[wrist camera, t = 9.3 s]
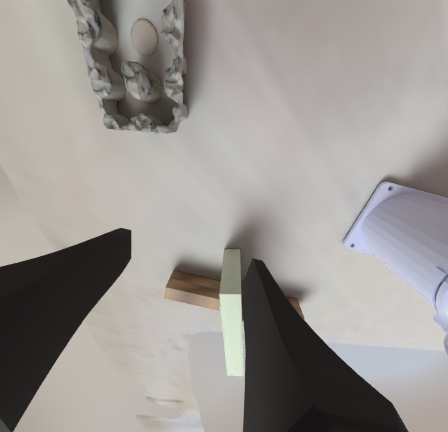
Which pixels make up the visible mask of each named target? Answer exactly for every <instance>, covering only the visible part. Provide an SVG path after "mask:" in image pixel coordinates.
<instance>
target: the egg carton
mask: <svg viewBox="0 0 448 432" xmlns="http://www.w3.org/2000/svg"><path fill="white" fill-rule="evenodd" d="M68 3H69V5H70V6H71V8H72V9H73V11H74V12H75V15H76V19H77V26H78V37H79V41H80V43H81V44H82V46H83V49H84V54H85V59H86V62H87V66H88V77H89V79H90V82H91V84H92V87H93V90H94V92H95V95H96V97H97V99H98V101H99V105H100V108H101V110H102V111H103V113H104V119H103V121H104V125H105V126H106V128H109V129H115V130H131V131H142V132H155V133H173V132H176V131H177V129H178V125H179V122H180V121H181V120H183V119H187V118H188V107H187V106H186V105H184V104H183V94H182V90H183V80H182V76H181V75H184V74H186V73H187V61H186V58H185V57H184V55H183V36H184V20H185V1H184V0H173V1H172V3H171V4H170V5H168V6H167V8H166V9H164V10H163V17H162V28H163V31H162V32H161V33H162V35H163V36H164V37H165V39H166V40H167V41H168V42H169V43H170V45H171V46H172V47H173V49H174V50H175V51H176V52H175V54H176V59H174V60H173V66H172V67H171V68H168V69H167V70H166V71H165V73H166V78H165V81H164V89H165V92H166V94H167V96H168V97H170V98H171V99H173V100H174V101H175V102H176V103H177V105H176V106H174V108H173V109H172V114H173V115H174V117H175V119H174V120H172V121H171V123H170V125H169V126H164V125H163V123H162V122H161V121H160V120H159V119H158V118H157V117H154V116H150V115H145V114H142V113H136V115H135V117H132V118H131V119H130V122H129V121H128V119H127V118H126V117H124V116H122V115H120V114H119V112H118V109H117V101H120V100H121V99H123V97H124V96H125V93H126V89H127V91H128V92H129V93H130V94H131V95H132V96H133V97H134V98H136V99H138V100H141V101H144V102H143V103H146V102H148V103H155V102H157V101H158V100H159V99H160V98H161V96H162V85H161V82H160V80H159V79H158V78H157V77H156V75H155V74H153V73H152V72H151V71H149V70H148V69H147V68H145V67H144V66H142V65H141V64H139V63H137V62H130V61H123V62H122V63H121V72H122V74H123V77H124V81H123V79H122V77H121V76H120V75H119V74H118V73H117V72H115V71H113V70H112V65H111V62H110V59H109V55H111V54H113V53H114V52H115V51H116V49H117V46H118V35H117V32H116V29H115V27H114V26H113V24H112V23H111V22H110V21H109V20H108V19H107V18H106V17H105V16H104V15H102V12H101V7H100V0H68ZM131 39H132V43H133V46H134V47H135V49H136V50H137V51H138V52H139V53H140V54H141V55H144V56H149V55H151V54H153V53H154V52H155V50H156V48H157V45H158V35H157V32H156V29H155V28H154V26H153V25H152V24H151V22H150V21H148V20H146V19H138V21H136V22H135V23H134V24H133V26H132V29H131ZM177 58H178V60H179V63H178V62H177ZM124 82H125V83H124Z"/></svg>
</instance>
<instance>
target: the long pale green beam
mask: <svg viewBox="0 0 448 432" xmlns="http://www.w3.org/2000/svg"><path fill="white" fill-rule="evenodd" d="M219 297H220V307H221V317H222V327H223V336H224V347H225V357H226V367H227V375H231V376H243V340H242V339H243V337H242V301H241V262H240V249H224V257H223V265H222V274H221V283H220V292H219Z"/></svg>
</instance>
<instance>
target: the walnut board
mask: <svg viewBox="0 0 448 432" xmlns="http://www.w3.org/2000/svg"><path fill="white" fill-rule="evenodd" d="M220 283H221V281H217V280H213V279H209V278H204V277H200V276H196V275H191V274H187V273H183V272H179V271H174V270H173V273H172V275H171V277H170V279H169V281H168V283H167V285H166V289H165V296H164V298H166V299H170V300H174V301H179V302H183V303H188V304H192V305H196V306H201V307H205V308H210V309H214V310H219V308H220V297H219V292H220ZM242 295H243V286H241V301H242ZM286 298H287V299H288V300H289V302H290V303H291V304H292V306H293V307H294V308H295V310H296V311H297V312H298V313H299V315H300V316H301V317H302V318H303V319H304V316H303V314H302V311H301V308H300V305H299V302H298V300H297V299H295V298H290V297H286ZM242 306H243V303H242Z"/></svg>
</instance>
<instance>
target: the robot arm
mask: <svg viewBox="0 0 448 432" xmlns="http://www.w3.org/2000/svg"><path fill="white" fill-rule="evenodd" d="M390 186H391V188H390V189H389V190H388V188H389V187H390ZM342 244H343V246H344V247H345V248H349V249H353V250H357V251H361V252H365V253H369V254H373V255H376V256H377V257H378V258H379V259H380V260H381V261H382V262H383V263H384V264H386V265H387V266H388V267H389V268H390V269H391V270H392V271H393V272H395V273H396V274H397V275H398V276H399V277H400V278H401V279H402V280H403V281H405V282H406V283H407V284H408V285H409V286H410V287H411V288H412V289H413V290H415V291H416V292H417V293H418V294H419V295H420V296H421V297H422V298H424V299H425V300H426V301H427V302H428V303H429V304H430V305H431V306H432V307H434V308H435V309H436V310H437V313H436V315H435V316H434V318H433V320H434V321H435V322H436V323H437V324H438V325H439V326H440V327H441V328H442V329H443V330H444V331H445V332H447V333H448V197H444V196H440V195H436V194H433V193H429V192H425V191H421V190H417V189H414V188H410V187H406V186H402V185H398V184H395V183H391V182H387V181H384V182H382V183H380V185H379V186H378V187H377V189H376V191H375V192H374V194H373V195H372V197H371V199H370V200H369V202H368V203H367V205H366V206H365V208H364V210H363V211H362V213H361V214H360V216H359V217H358V219H357V221H356V222H355V224H354V225H353V227H352V228H351V230H350V232H349V233H348V235H347V236H346V238H345V239H344V241H343V243H342ZM351 244H353V245H351ZM350 245H351V246H350ZM130 259H131V230H128V229H123V228H119V229H116V230H113V231H111V232H108V233H105V234H103V235H100V236H98V237H95V238H93V239H90V240H87V241H85V242H82V243H79V244H77V245H74V246H71V247H68V248H65V249H62V250H59V251H56V252H53V253H50V254H47V255H44V256H40V257H37V258H33V259H30V260H26V261H22V262H19V263H14V264H10V265H6V266H2V267H0V432H13V431H14V429H15V427H16V426H17V424H18V422H19V420H20V419H21V417H22V415H23V414H24V412H25V410H26V409H27V407H28V405H29V404H30V402H31V400H32V399H33V397H34V395H35V394H36V392H37V390H38V389H39V387H40V385H41V384H42V382H43V381H44V379H45V378H46V376H47V374H48V373H49V371H50V370H51V368H52V366H53V365H54V363H55V362H56V360H57V359H58V357H59V355H60V354H61V352H62V351H63V350H64V348H65V347H66V345H67V343H68V342H69V341H70V339H71V338H72V336H73V335H74V333H75V332H76V330H77V329H78V327H79V326H80V325H81V323H82V322H83V320H84V319H85V317H86V316H87V315H88V313H89V312H90V311H91V310H92V308H93V307H94V306H95V305H96V304H97V302H98V301H99V300H100V299H101V298H102V296H103V295H104V294H105V293H106V292H107V290H108V289H109V288H110V287H111V286H112V284H113V283H114V282H115V281H116V280H117V278H118V277H119V276H120V275H121V273H122V272H123V270H124V269H125V267H126V266H127V264H128V263H129V261H130ZM242 303H243V318H244V331H245V348H246V359H245V400H244V423H243V432H408V430H407V428H406V427H405V425H404V423H403V422H402V420H401V418H400V416H399V414H398V413H397V411H396V409H395V408H394V406H393V404H392V403H391V402H390V401H389V400H387V399H386V398H385V397H384V396H383V395H382V394H380V393H379V392H378V391H377V390H376V389H375V388H373V387H372V386H371V385H370V384H369V383H368V382H366V381H365V380H364V379H363V378H362V377H360V376H359V375H358V374H357V373H356V372H355V371H354V370H353V369H352V368H351V367H349V366H348V365H347V364H346V363H345V362H344V361H343V360H342V359H341V358H340V357H339V356H338V355H337V354H336V353H335V352H334V351H332V349H331V348H329V347H328V346H327V344H326V343H325V342H324V341H323V340H322V339H321V338H320V337H319V336H318V335H317V334H316V333H315V332H314V331H313V330H312V328H311V327H310V326H309V325H308V324H307V323H306V322H305V320H304V319H303V318H302V317H301V316H300V315H299V313H298V312H297V311H296V310H295V308H294V307H293V306H292V304H291V303H290V302H289V300H288V299H287V298H286V296H285V295H284V293H283V292H282V291H281V289H280V288H279V286H278V285H277V283H276V282H275V280H274V278H273V277H272V275H271V274H270V272H269V270H268V269H267V267H266V265H265V264H264V262H263V261H261V260H257V259H252V261H251V264H250V267H249V269H248V272H247V275H246V277H245V280H244V282H243V295H242ZM444 347H445V351H446V353H447V355H448V334H447V335H446V337H445V339H444Z"/></svg>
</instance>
